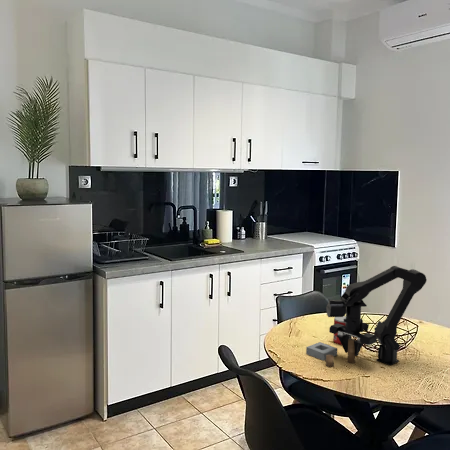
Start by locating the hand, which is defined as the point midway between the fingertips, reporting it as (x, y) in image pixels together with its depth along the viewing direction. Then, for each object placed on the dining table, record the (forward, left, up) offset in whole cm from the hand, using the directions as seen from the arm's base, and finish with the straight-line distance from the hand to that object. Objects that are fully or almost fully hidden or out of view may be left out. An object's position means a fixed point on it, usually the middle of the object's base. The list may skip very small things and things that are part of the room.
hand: (351, 354), depth 189 cm
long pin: (0, 0, -3) cm, 3 cm away
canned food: (+15, -15, -3) cm, 21 cm away
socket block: (+12, +4, -3) cm, 13 cm away
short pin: (+3, +10, -3) cm, 11 cm away
